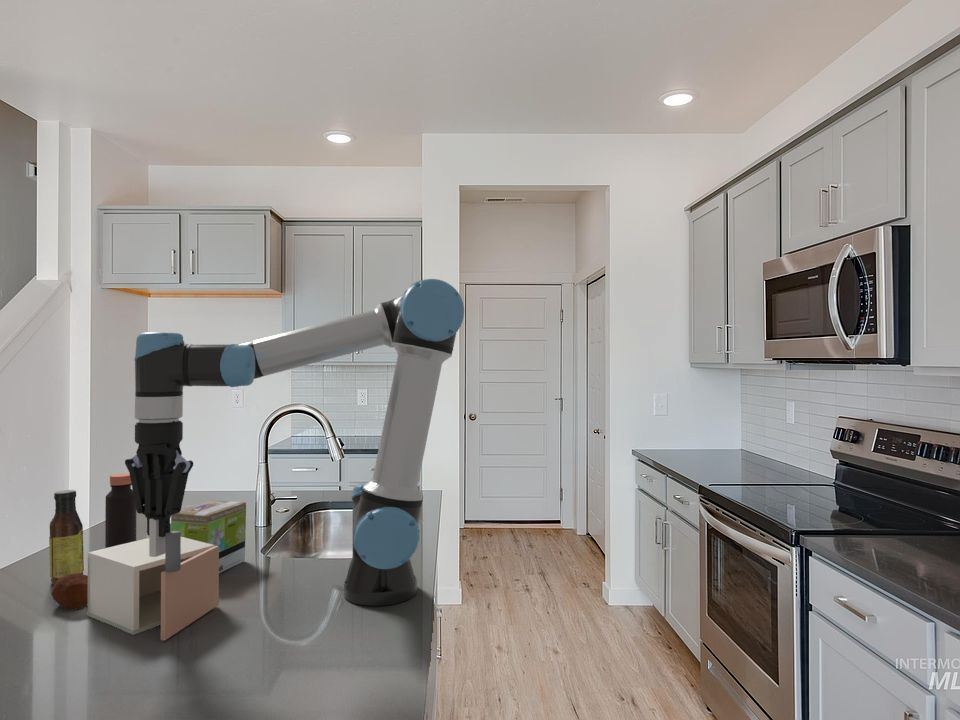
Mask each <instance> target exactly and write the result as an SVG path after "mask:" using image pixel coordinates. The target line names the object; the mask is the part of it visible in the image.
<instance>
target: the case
mask: <svg viewBox="0 0 960 720" xmlns="http://www.w3.org/2000/svg"><path fill="white" fill-rule="evenodd" d="M214 546H215V545H212V544H208V543H204V542H200V541H196V540H192V539H188V538H184V537H181V562H183V561H185V560H187V559H189V558H191V557H194V556H196V555H198V554H200V553H202V552H204V551H206V550H208V549H210V548H212V547H214ZM163 571H165V554H162V555H160V556H157V557H150V556H149V537H147V538H142V539H139V540H136V541H134V542H130V543H126V544H121V545H117V546H113V547H109V548H102V549H101V548H100V549H97V550H93V551H88V552H87V576H88V604H87V617H90V618H93V619H94V618H95V620H97V621H99V620H100V621H99V622H101V623H104V622H105V623H104V624H106V623H107V625H109V624H110V625H109V626H111V625H112V626H111V627H113V626H115V627H114V628H116V627H117V628H116V629H118V628H119V629H118V630H120V629H121V631H123V632H125V633H128V634H130V635H133V636H134V635H137V634H140V633H143V632H145V631H148V629H149V630H151V629H154V628H157V627H159V625H160V626H161V572H163ZM156 626H157V627H156Z"/></svg>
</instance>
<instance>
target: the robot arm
mask: <svg viewBox="0 0 960 720" xmlns="http://www.w3.org/2000/svg"><path fill="white" fill-rule="evenodd" d="M464 305H465V304H464V301H463V298H462V297H461V294H460V293H459V292H458V290H457V289H456V288H455V287H454V286H453V285H451V284H450V283H448V282H447V281H444V280H441V279H437V278H427V279H422V280H418V281H416V282H414V283H413V284H411V285H410V286H409V287H407V289H405V291H404V293H403V294H402V295H400V296H398V297H396V298H393V299H391V300H388V301H384V302H380V303H378V304H377V306H376V308H375V309H372V310H369V311H365V312H361V313H356V314H352V315H349V316H345V317H341V318H340V317H339V318H337V319H333V320H329V321H325V322H321V323H317V324H313V325H310V326H305V327H302V328H297V329H294V330H289V331H286V332H282V333H277V334H275V335H270V336H266V337H263V338H258V339H255V340H251V341H246V342H241V343H238V344H237V343H230V344H193V343H192V344H191V343H185V341H184V336H183V335H182V334H181V333H179V332H158V331H157V332H155V331H154V332H153V331H152V332H149V331H148V332H147V331H146V332H140V334H138V336H137V337H136V339H135V343H136V344H135V356H134V358H133V359H134V371H135V372H134V374H135V375H134V376H135V377H134V380H135V381H134V382H135V383H134V384H135V391H134V394H135V395H134V419H135V420H138V421H137V422H136V423H135V424H134V442H135V443H136V444H137V445H138V447H137V449H136V452H135V453H136V454H135V455H134V456H132V457H131V458H127V459H125V460H124V465H125V466H126V469H127V471H128V472H129V473H128V474H130V478H131V484H132V485H131V489H132V490H133V494H134V499H135V505H136V514H138V515H139V514H142V515H144V517H145V518H146V535H147V536H149V537H148V538H149V556H150V557H157V556H160V555H162V554H165V533H167V532H171V531H170V517H171V516H172V515H174V514H177V513H180V511H181V507H183V502H184V496H185V492H186V486H187V484H188V483H187V482H188V477H189V473H190V472H191V470H192V469H193V467H194V462H193V460H191V459H190V460H187V459H186V458H185V457H183V456H182V454H183V453H182V450H181V447H180V446H181V445H180V443H181V442H182V440H183V437H184V436H183V433H184V432H183V431H184V430H183V429H184V428H183V427H184V425H183V424H184V423H183V422H182V420H180V419H182V417H183V416H184V415H183V412H184V411H183V406H184V405H183V404H184V403H183V401H184V400H183V399H184V398H183V397H184V387H230V388H236V387H237V388H238V387H246V386H247V387H249V386H250V385H252V384H253V382H254V380H256V379H258V378H262V377H265V376H266V377H267V376H269V375H274V374H278V373H282V372H285V371H290V370H292V369H296V368H299V367H303V366H308V365H311V364H316V363H319V362H322V361H323V362H324V361H327V360H330V359H334V358H338V357H343V356H346V355H350V354H353V353H358V352H361V351H364V350H370V349H373V348H377V347H380V346H383V345H385V346H387V347H389V348H391V349H392V348H394V350H395V352H396V354H397V358H396V364H395V367H394V373H393V377H392V383H391V388H390V392H389V397H388V403H387V407H386V412H385V416H384V422H383V427H382V432H381V436H380V440H379V446H378V450H377V455H376V460H375V466H374V470H373V476H372V478H371V480H369V481H368V482H366V483H364V482H363V483H359V484H358V483H357V484H356V485H354V486H353V489H352V496H351V501H352V556H351V557H352V558H351V561H350V563H349V568H348V570H347V575H346V577H345V578H346V579H345V580H344V582H343V597H344V598H345V600H346V601H348V602H349V603H353V604H356V605H360V606H370V607H374V606H375V607H381V606H390V605H395V604H399V603H402V602H405V601H408V600H410V599H411V598H413V597H414V596H416V594H417V593H418V581H417V577H416V575H415V573H414V569H413V565H412V561H411V558H412V557H413V555H414V554H415V552H416V551H417V549H418V547H419V541H420V532H421V531H420V529H419V528H420V527H419V522H420V521H419V520H420V516H421V512H422V507H423V506H422V505H423V501H424V495H423V494H422V492H421V491H420V489H419V487H418V484H419V482H420V477H421V476H420V474H421V470H422V465H423V461H424V456H425V450H426V445H427V440H428V435H429V430H430V426H431V420H432V415H433V412H434V411H433V410H434V406H435V400H436V396H437V390H438V385H439V380H440V375H441V372H442V371H441V370H442V366H443V364H444V362H445V361H447V360H449V359H450V358H451V357H452V355H453V351H454V347H455V341H456V336H457V332H459V329H460V328H461V327H462V324H463V323H464V322H463V321H464V318H465V317H464V316H465V306H464Z"/></svg>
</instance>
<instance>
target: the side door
mask: <svg viewBox="0 0 960 720" xmlns="http://www.w3.org/2000/svg"><path fill="white" fill-rule="evenodd" d="M219 577H220V573H219V546H214V547H212V548H210V549H208V550H206V551H204V552H202V553H200V554H198V555H196V556H194V557H191V558H189V559H187V560H185V561H183V562H181V532H180V531H170V532H167V533H165V571H163V572H161V625H160V641H166V640H168V639H169V638H171V637H172V636H174V635H175V634H178V632H180V631H181V630H183V629H185V628H186V627H188V626H189V625H191V624H192V623H194V622H195V621H197V620H198V619H200V618H202V617H203V616H204V615H205V614H207V613H208V612H211V611H212V610H213V609H215V608H216V607H218V606H219V603H220V602H219V601H220V600H219V599H220V596H219V595H220V592H219V591H220V587H219V586H220V584H219V583H220V580H219V579H220V578H219Z"/></svg>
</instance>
